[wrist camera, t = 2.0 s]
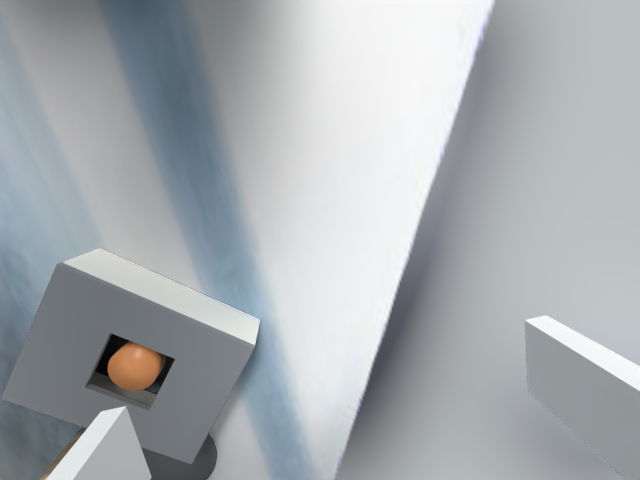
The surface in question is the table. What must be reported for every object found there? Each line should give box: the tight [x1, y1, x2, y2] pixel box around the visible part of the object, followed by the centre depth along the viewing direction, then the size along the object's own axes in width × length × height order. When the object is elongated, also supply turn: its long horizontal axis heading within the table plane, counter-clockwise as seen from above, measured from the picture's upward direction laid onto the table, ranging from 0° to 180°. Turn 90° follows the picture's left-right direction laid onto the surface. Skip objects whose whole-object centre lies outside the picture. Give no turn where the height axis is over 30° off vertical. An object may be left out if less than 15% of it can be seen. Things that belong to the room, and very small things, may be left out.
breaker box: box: [1, 248, 260, 464], centre depth 32 cm, size 18×14×6 cm
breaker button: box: [108, 341, 166, 391], centre depth 30 cm, size 4×4×2 cm
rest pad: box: [141, 435, 217, 480], centre depth 38 cm, size 9×9×1 cm
